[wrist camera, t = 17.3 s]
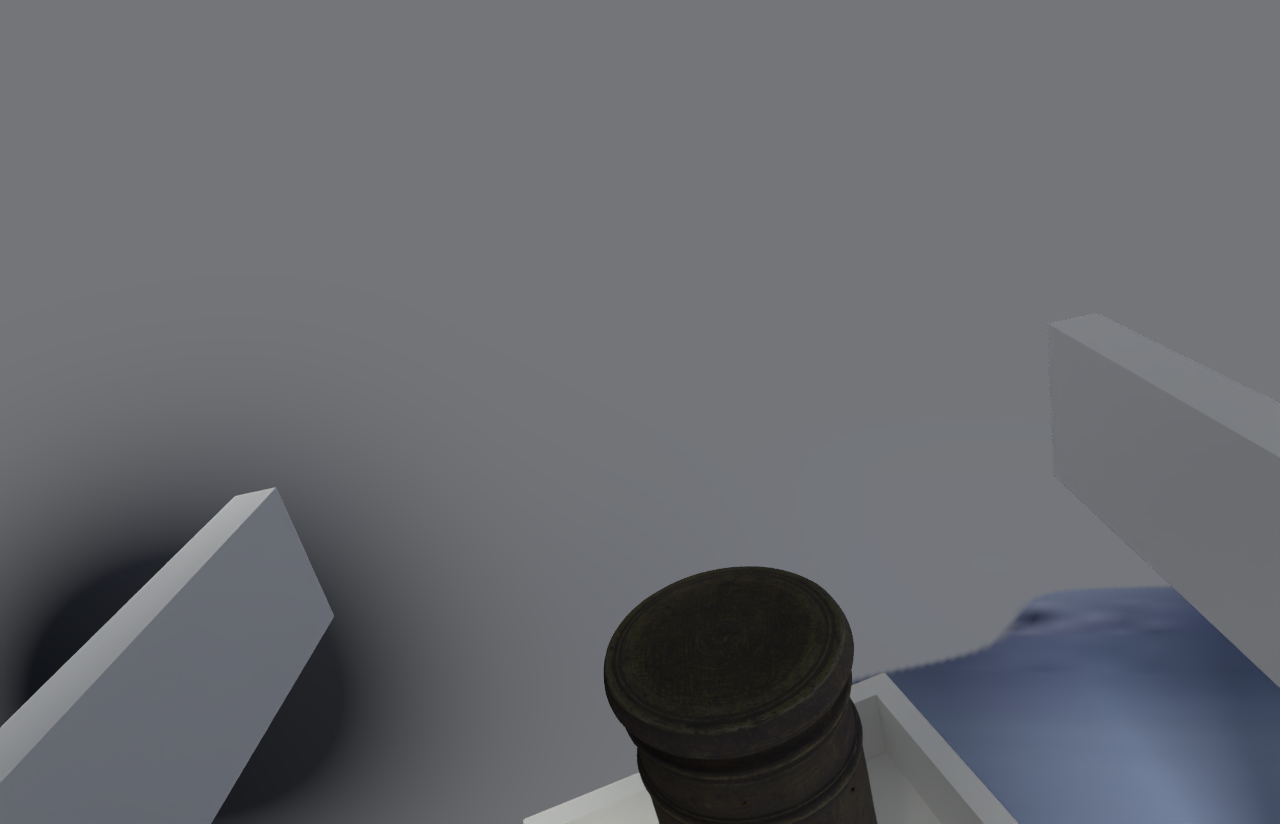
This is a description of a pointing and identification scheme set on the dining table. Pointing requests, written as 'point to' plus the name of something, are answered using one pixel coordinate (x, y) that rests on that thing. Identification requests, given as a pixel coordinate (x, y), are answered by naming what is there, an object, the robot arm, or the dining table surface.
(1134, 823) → the dining table surface
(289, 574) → the robot arm
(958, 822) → the white bin
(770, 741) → the container
